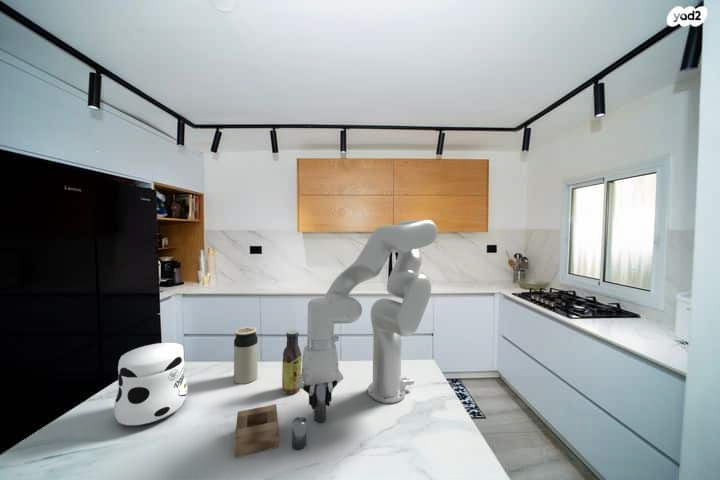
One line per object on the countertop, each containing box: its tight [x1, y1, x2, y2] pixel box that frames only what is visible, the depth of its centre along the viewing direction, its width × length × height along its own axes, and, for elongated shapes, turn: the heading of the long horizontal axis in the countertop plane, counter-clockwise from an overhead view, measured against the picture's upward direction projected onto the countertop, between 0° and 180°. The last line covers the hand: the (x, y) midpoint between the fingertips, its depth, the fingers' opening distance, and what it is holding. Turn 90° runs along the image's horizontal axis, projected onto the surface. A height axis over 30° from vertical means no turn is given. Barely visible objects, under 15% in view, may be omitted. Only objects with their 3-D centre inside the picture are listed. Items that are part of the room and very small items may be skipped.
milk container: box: [113, 342, 189, 427], centre depth 83 cm, size 17×17×18 cm
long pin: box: [313, 383, 327, 424], centre depth 81 cm, size 4×4×12 cm
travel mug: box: [233, 326, 259, 385], centre depth 103 cm, size 8×8×18 cm
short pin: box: [291, 416, 308, 451], centre depth 71 cm, size 4×4×6 cm
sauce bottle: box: [281, 329, 302, 395], centre depth 95 cm, size 6×6×20 cm
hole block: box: [234, 404, 280, 458], centre depth 73 cm, size 10×10×5 cm
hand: (320, 404), depth 81 cm, fingers closed on long pin, 3 cm apart
